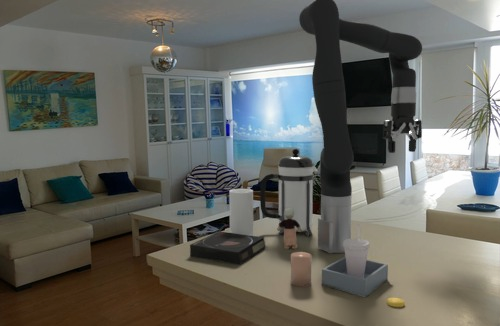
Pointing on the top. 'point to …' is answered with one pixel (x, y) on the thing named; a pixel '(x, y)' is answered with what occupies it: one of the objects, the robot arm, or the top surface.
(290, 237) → the grandmother figurine
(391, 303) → the yellow disc
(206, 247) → the portable cd player
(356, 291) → the tote
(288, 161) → the coffee press
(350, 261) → the smoothie
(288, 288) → the top surface
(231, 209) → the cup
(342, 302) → the top surface
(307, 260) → the canister
